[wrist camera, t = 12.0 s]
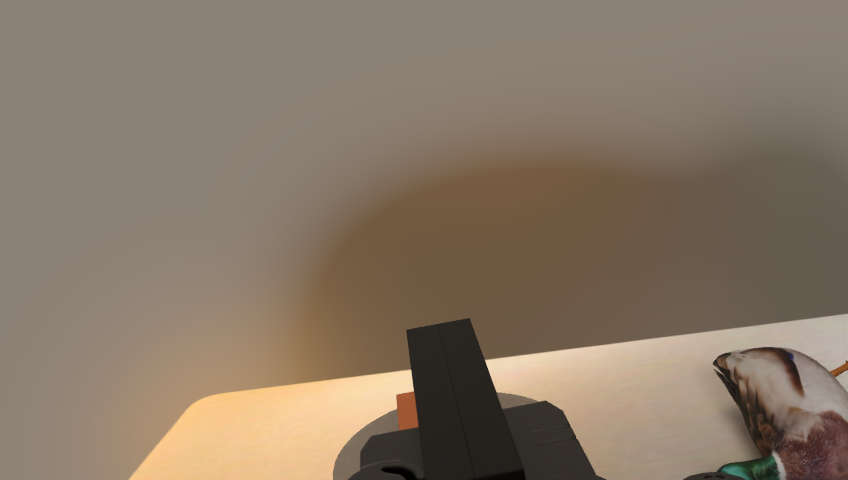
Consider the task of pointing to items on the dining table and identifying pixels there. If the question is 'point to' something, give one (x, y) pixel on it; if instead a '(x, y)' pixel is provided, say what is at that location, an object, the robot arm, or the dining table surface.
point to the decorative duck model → (788, 414)
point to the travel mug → (389, 423)
